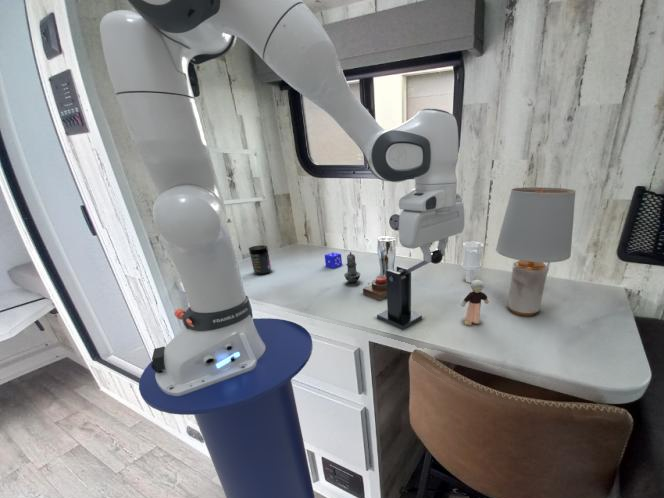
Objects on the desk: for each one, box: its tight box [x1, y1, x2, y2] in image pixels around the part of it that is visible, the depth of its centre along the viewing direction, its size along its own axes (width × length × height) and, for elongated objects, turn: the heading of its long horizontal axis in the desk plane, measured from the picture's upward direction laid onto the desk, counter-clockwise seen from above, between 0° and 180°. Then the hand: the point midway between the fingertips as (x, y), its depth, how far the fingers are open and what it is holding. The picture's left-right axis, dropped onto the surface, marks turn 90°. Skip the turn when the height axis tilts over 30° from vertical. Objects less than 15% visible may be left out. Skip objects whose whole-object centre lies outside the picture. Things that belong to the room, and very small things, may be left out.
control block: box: [362, 278, 387, 301], centre depth 104 cm, size 10×8×4 cm
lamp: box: [495, 186, 577, 317], centre depth 84 cm, size 19×19×34 cm
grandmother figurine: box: [460, 279, 489, 326], centre depth 82 cm, size 8×4×13 cm, turn 114°
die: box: [324, 252, 343, 269], centre depth 130 cm, size 5×5×5 cm
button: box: [375, 275, 387, 284], centre depth 103 cm, size 4×4×2 cm
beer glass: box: [376, 236, 397, 277], centre depth 115 cm, size 7×7×15 cm
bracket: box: [376, 265, 423, 331], centre depth 84 cm, size 10×8×15 cm
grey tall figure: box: [343, 251, 361, 287], centre depth 110 cm, size 6×6×12 cm
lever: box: [396, 249, 444, 280], centre depth 77 cm, size 17×3×3 cm
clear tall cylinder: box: [460, 241, 484, 283], centre depth 110 cm, size 7×7×15 cm
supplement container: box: [248, 244, 273, 276], centre depth 122 cm, size 7×7×10 cm
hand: (434, 258), depth 72 cm, fingers closed on lever, 3 cm apart
